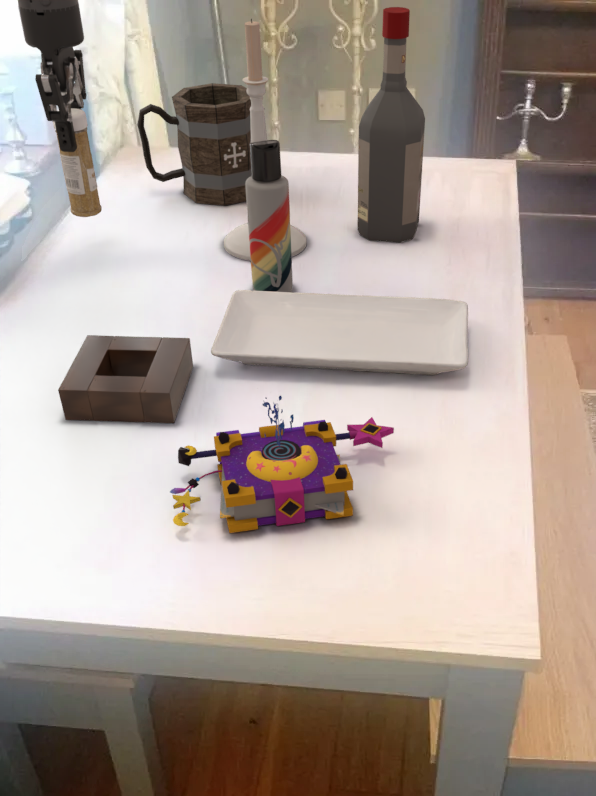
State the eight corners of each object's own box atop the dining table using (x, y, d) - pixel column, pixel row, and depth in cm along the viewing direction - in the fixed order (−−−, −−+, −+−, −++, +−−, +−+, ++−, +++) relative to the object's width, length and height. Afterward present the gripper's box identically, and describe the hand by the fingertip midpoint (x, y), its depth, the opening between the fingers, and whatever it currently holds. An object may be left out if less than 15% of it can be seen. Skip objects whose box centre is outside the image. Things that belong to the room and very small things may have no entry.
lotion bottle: (261, 303, 125) (250, 150, 111) (247, 286, 129) (236, 136, 115) (298, 295, 127) (293, 144, 113) (284, 279, 131) (277, 130, 117)
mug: (258, 175, 161) (252, 81, 150) (264, 203, 151) (259, 105, 141) (147, 181, 159) (134, 86, 148) (147, 210, 149) (132, 111, 139)
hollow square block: (65, 420, 104) (57, 389, 101) (93, 364, 113) (87, 334, 111) (174, 423, 104) (169, 393, 101) (193, 367, 113) (189, 337, 110)
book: (165, 464, 98) (148, 364, 89) (387, 436, 102) (391, 336, 93) (177, 550, 88) (159, 446, 79) (423, 515, 92) (431, 411, 83)
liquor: (420, 221, 146) (433, 3, 125) (413, 244, 139) (426, 18, 118) (364, 218, 147) (368, 1, 126) (355, 240, 140) (357, 16, 119)
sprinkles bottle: (108, 212, 132) (91, 112, 122) (81, 220, 129) (62, 119, 120) (90, 203, 134) (73, 104, 125) (64, 211, 132) (44, 111, 122)
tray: (465, 389, 109) (468, 363, 106) (210, 376, 111) (207, 350, 109) (466, 323, 121) (468, 299, 118) (235, 312, 123) (233, 288, 121)
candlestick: (289, 266, 134) (279, 33, 113) (210, 255, 137) (186, 26, 116) (317, 233, 142) (313, 11, 121) (243, 223, 145) (226, 5, 124)
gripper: (35, -13, 119) (61, 127, 131) (0, 12, 108) (32, 161, 120) (91, -11, 118) (112, 129, 130) (61, 13, 108) (87, 163, 120)
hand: (73, 144), depth 125 cm, fingers closed on sprinkles bottle, 4 cm apart
